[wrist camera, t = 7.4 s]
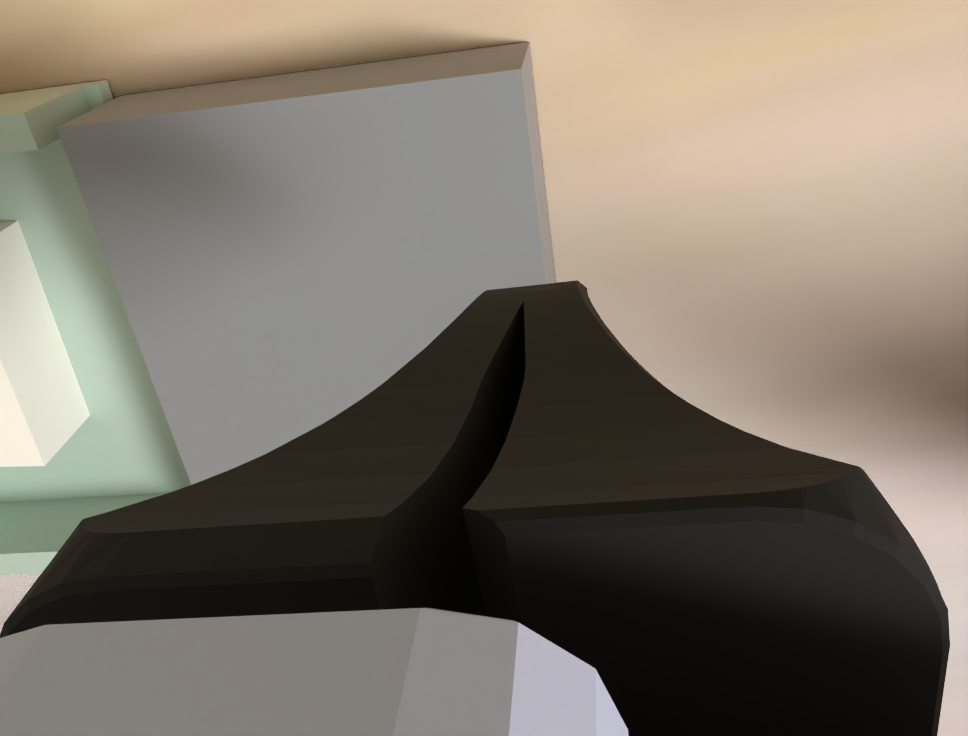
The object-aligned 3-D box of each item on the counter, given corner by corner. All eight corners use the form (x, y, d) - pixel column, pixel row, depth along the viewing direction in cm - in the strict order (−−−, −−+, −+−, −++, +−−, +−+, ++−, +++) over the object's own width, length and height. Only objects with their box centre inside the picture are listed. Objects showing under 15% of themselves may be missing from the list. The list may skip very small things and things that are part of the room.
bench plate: (576, 471, 26) (575, 540, 23) (252, 489, 27) (218, 555, 24) (529, 41, 20) (521, 69, 17) (120, 95, 21) (56, 128, 19)
